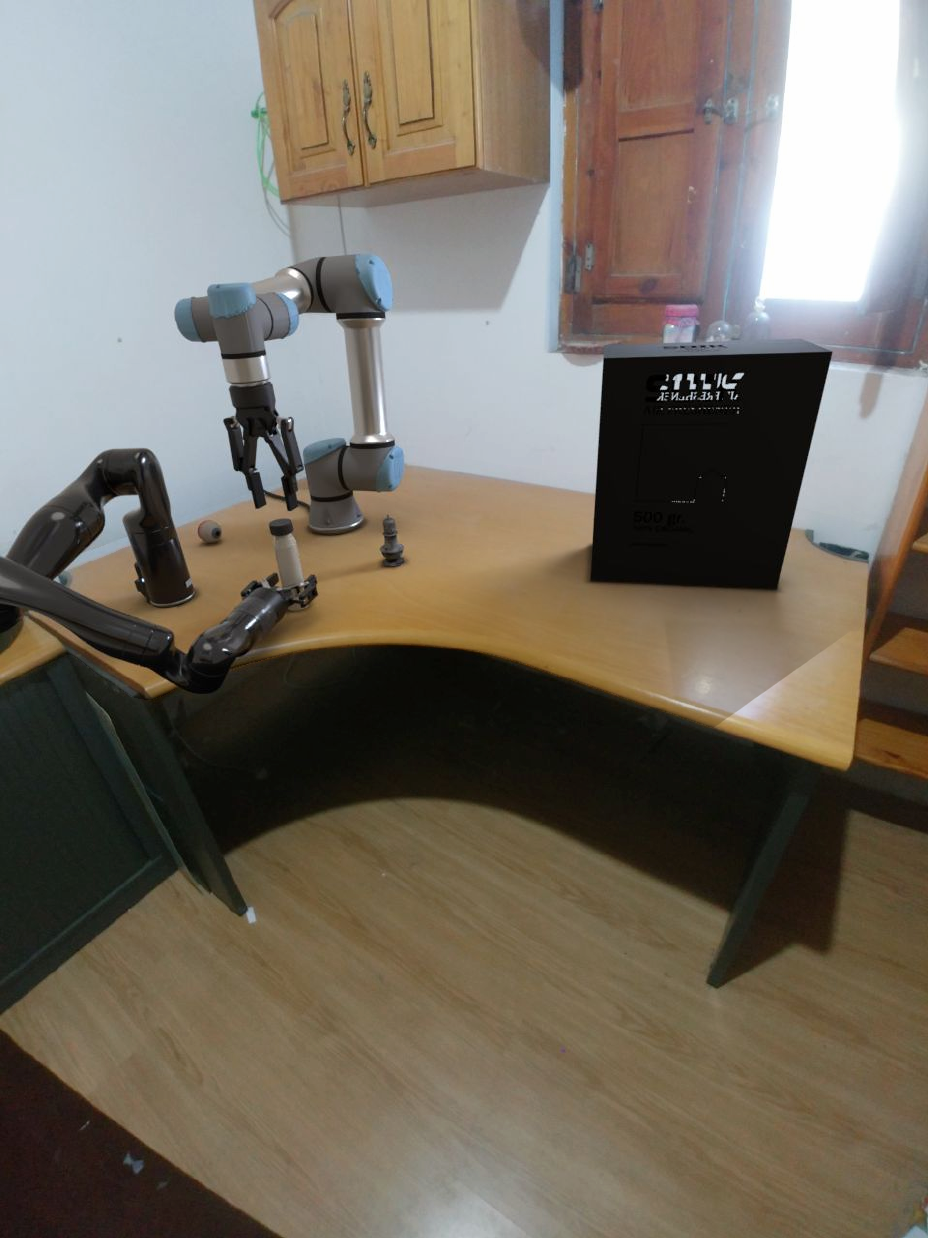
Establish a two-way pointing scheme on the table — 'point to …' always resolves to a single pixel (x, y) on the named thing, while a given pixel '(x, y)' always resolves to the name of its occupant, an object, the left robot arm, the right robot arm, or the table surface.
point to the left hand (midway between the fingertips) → (295, 577)
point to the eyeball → (209, 531)
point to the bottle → (288, 564)
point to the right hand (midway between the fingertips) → (276, 507)
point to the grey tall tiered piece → (391, 544)
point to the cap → (281, 527)
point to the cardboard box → (703, 460)
